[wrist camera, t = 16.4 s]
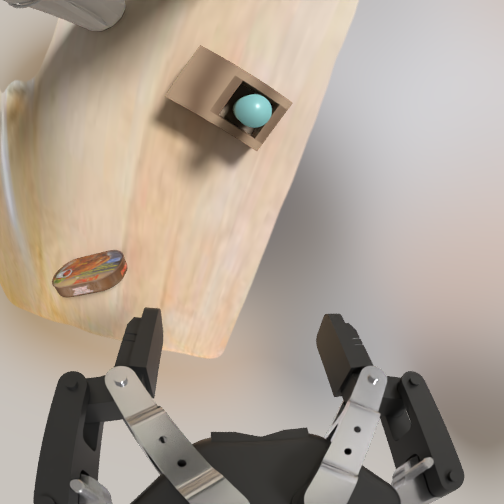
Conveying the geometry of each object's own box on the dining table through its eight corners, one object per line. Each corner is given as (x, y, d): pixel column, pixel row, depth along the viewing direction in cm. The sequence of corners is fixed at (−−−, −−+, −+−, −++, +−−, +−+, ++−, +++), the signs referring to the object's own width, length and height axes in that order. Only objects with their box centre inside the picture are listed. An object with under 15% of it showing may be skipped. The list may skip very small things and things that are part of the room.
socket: (171, 97, 35) (164, 96, 31) (203, 52, 32) (200, 45, 28) (253, 145, 40) (257, 151, 36) (284, 102, 37) (292, 102, 33)
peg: (227, 112, 37) (229, 115, 27) (242, 92, 36) (249, 87, 26) (248, 125, 38) (258, 134, 28) (263, 106, 37) (278, 107, 27)
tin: (128, 245, 46) (113, 273, 39) (134, 261, 47) (121, 290, 40) (63, 261, 46) (43, 287, 38) (69, 275, 47) (52, 301, 40)
